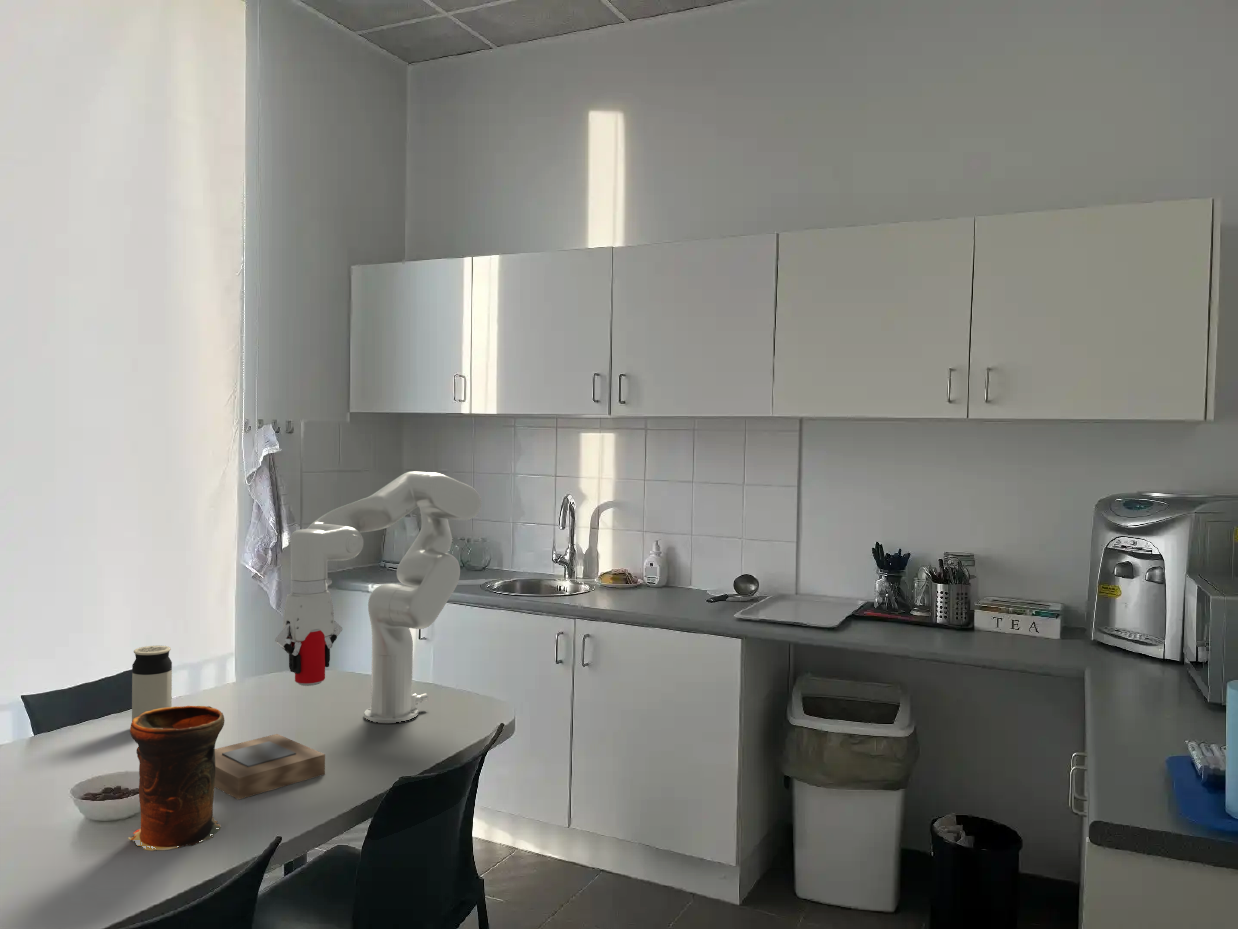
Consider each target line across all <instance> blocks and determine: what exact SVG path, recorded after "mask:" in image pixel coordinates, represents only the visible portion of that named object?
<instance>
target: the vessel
mask: <svg viewBox="0 0 1238 929" xmlns="http://www.w3.org/2000/svg"><path fill="white" fill-rule="evenodd" d="M224 725H225V716H224V713H223V712H222V711H220V709H217V708H215V707H212V706H209V705H208V706H207V705H185V706H183V705H182V706H178V705H177V706H172V707H166V708H159V709H154V710H151V711H146V712H144V713H142V714H141V715H139V716H138V717H136V718H134V719H133V721H132V720H131V723H130V728H129V733H130V736H131V738H132V740H133V741H134V742H135V743H136V744H137V746H138V747H137V748H136V755H137V759H138V761H139V767H138V776H139V779H138V781H139V784H138V797H139V800H138V802H139V806H140V807H139V808H140V828H138V829H136V830H135V831H134V832H133V833H132V834H134V835H133V836H132V837H129V836H128V837H127V838H128V840H129V841H131V840H140V845H138V846H146V849H145V848H144V849H143V850H145V851H151V852H153V851H156V850H157V851H167V850H168V851H169V850H174V849H179V848H181V847H186V846H194V845H195V846H196V845H197V844H201V843H204V842H203V841H202V842H200V843H199V841H201V840H204V841H208V840H209V839H213V838H214V836H215V834H217V833H218V832H219V831H221V830H222V827H221V824H219V821H218V820H215V818H214V816H213V815H214V814H213V811H214V808H213V807H214V805H213V804H214V796H215V788H216V787H215V768H216V765H215V749H216V748H215V747H216V742H217V739H218V737H219V734H220V733H221V731H222V729H223V728H224ZM217 823H218V824H217ZM216 828H219V829H216ZM210 834H213V835H211V836H210ZM212 836H213V837H212ZM141 842H142V845H141ZM196 843H197V844H196ZM147 846H150V848H149V847H147ZM151 846H153V847H155V848H156V849H155V848H153V849H152V848H151ZM177 846H179V848H178V847H177Z"/></svg>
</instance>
